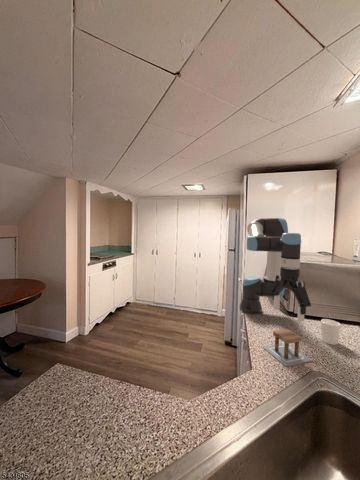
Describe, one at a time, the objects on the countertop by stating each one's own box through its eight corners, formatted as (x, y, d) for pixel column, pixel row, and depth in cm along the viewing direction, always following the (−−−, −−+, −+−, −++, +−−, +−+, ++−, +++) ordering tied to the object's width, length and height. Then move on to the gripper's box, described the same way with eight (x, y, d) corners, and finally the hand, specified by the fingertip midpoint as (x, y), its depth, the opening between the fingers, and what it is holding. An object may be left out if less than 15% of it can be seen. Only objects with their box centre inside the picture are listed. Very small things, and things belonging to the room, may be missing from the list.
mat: (262, 347, 96) (262, 346, 96) (286, 343, 100) (286, 342, 100) (285, 366, 83) (286, 365, 83) (312, 361, 87) (312, 360, 87)
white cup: (339, 347, 98) (340, 327, 98) (319, 342, 103) (320, 322, 102) (339, 340, 104) (340, 321, 104) (320, 335, 109) (321, 317, 109)
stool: (272, 349, 94) (273, 330, 94) (286, 347, 97) (287, 328, 96) (286, 360, 87) (286, 339, 86) (300, 357, 89) (301, 337, 89)
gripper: (263, 263, 101) (262, 305, 102) (308, 274, 77) (305, 328, 78) (276, 262, 103) (274, 303, 104) (323, 273, 79) (320, 326, 80)
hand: (287, 314), depth 91 cm, fingers open, 13 cm apart
